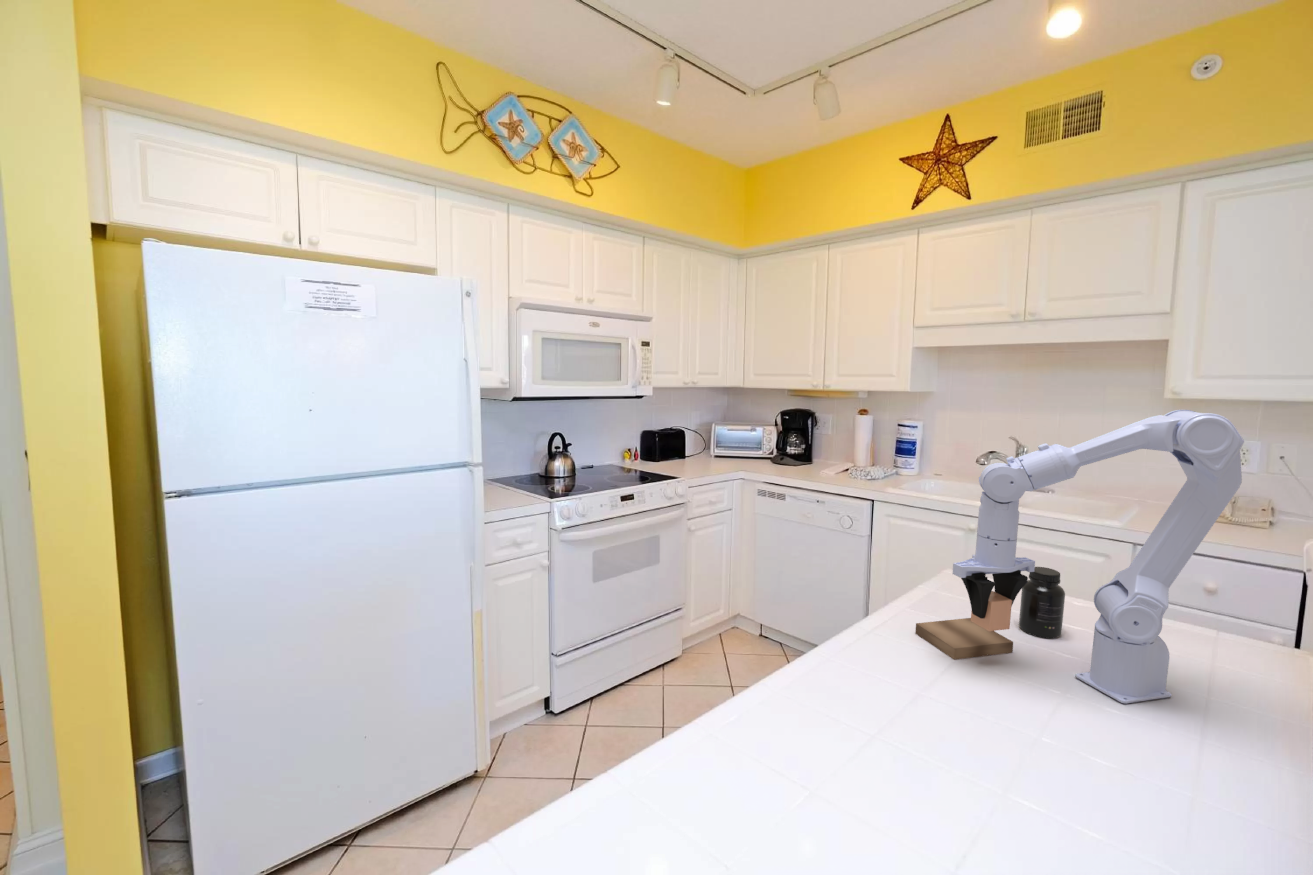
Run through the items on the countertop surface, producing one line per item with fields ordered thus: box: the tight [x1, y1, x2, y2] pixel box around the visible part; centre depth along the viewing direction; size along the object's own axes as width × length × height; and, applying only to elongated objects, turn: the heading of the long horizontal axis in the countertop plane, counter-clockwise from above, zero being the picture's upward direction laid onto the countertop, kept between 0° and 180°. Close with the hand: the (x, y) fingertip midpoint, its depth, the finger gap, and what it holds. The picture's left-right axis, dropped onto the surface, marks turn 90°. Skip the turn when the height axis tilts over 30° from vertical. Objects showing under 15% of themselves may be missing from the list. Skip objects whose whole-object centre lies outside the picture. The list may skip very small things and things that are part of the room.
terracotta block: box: [970, 590, 1013, 632], centre depth 96 cm, size 4×4×5 cm
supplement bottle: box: [1018, 566, 1066, 639], centre depth 109 cm, size 7×7×12 cm
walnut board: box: [915, 617, 1014, 660], centre depth 105 cm, size 12×10×2 cm
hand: (990, 614), depth 97 cm, fingers closed on terracotta block, 4 cm apart
